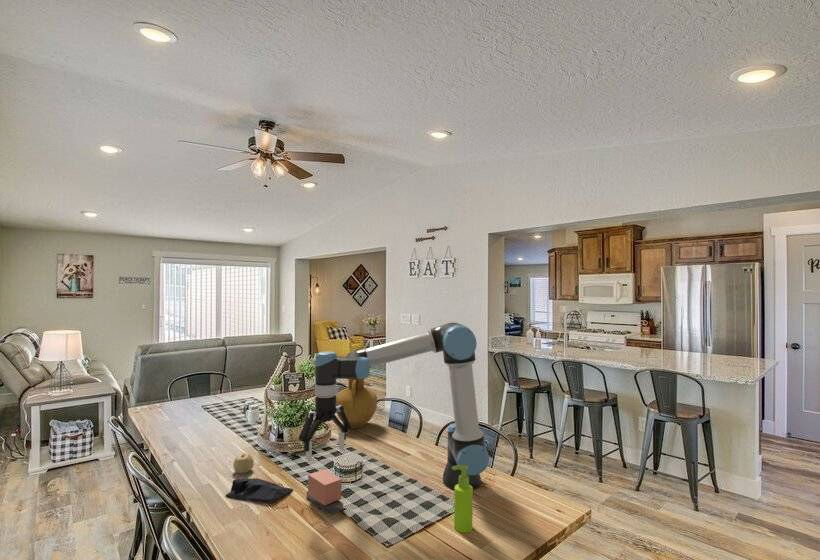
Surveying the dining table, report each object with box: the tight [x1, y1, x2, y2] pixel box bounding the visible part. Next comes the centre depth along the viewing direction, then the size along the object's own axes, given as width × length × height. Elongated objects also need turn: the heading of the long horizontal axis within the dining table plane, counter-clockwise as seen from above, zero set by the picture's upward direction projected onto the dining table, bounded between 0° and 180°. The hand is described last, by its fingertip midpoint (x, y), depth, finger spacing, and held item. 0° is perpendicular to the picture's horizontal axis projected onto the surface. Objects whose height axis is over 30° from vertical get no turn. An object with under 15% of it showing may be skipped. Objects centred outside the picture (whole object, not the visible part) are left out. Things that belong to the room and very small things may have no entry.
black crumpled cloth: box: [225, 477, 294, 504], centre depth 163 cm, size 15×22×5 cm
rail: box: [306, 490, 344, 515], centre depth 156 cm, size 16×5×2 cm, turn 43°
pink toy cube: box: [307, 468, 343, 505], centre depth 156 cm, size 11×7×10 cm, turn 43°
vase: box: [335, 378, 378, 429], centre depth 240 cm, size 24×24×30 cm
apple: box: [232, 452, 255, 474], centre depth 181 cm, size 8×8×8 cm
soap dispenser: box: [452, 465, 474, 534], centre depth 141 cm, size 6×7×20 cm
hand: (325, 454), depth 156 cm, fingers open, 13 cm apart
